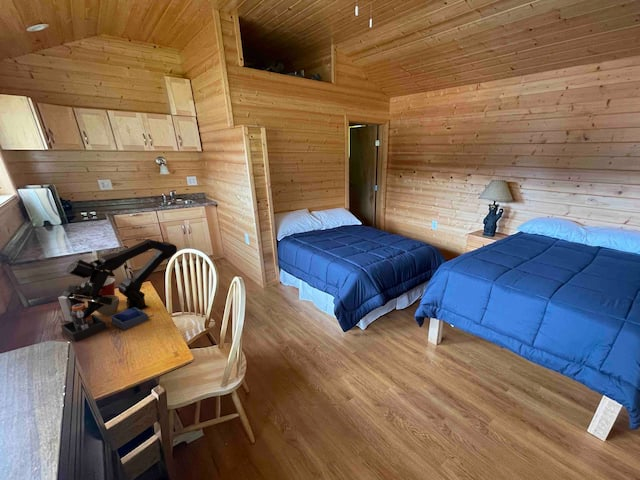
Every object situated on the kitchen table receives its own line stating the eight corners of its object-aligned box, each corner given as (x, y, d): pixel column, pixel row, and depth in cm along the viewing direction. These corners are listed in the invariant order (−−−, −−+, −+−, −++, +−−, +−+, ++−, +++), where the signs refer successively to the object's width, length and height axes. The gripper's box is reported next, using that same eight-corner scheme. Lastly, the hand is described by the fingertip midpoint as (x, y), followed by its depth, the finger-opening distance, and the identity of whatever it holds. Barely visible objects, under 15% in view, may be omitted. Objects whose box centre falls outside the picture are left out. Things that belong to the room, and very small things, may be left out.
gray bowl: (127, 311, 145) (123, 298, 142) (103, 320, 136) (99, 307, 134) (113, 306, 148) (110, 293, 146) (90, 315, 140) (86, 301, 137)
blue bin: (136, 313, 144) (135, 307, 143) (148, 320, 140) (147, 313, 138) (111, 322, 135) (110, 316, 134) (123, 330, 131) (122, 323, 130)
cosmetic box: (73, 322, 133) (65, 298, 129) (65, 320, 134) (57, 297, 130) (87, 315, 139) (79, 292, 134) (79, 314, 140) (72, 291, 135)
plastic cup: (107, 296, 156) (101, 275, 151) (126, 299, 155) (120, 278, 150) (86, 306, 146) (79, 284, 141) (106, 309, 145) (100, 287, 140)
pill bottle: (92, 330, 128) (84, 307, 123) (74, 333, 125) (65, 310, 121) (96, 323, 132) (89, 301, 128) (79, 326, 130) (71, 303, 126)
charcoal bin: (94, 320, 136) (92, 314, 135) (107, 328, 131) (105, 322, 130) (62, 332, 127) (60, 325, 125) (75, 341, 122) (72, 334, 121)
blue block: (130, 317, 140) (128, 308, 138) (138, 319, 139) (136, 310, 137) (121, 322, 136) (119, 313, 134) (129, 324, 135) (127, 315, 133)
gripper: (59, 272, 124) (38, 308, 119) (98, 278, 122) (79, 315, 116) (84, 282, 135) (65, 315, 129) (120, 287, 132) (103, 321, 127)
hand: (77, 316), depth 125 cm, fingers closed on pill bottle, 6 cm apart
